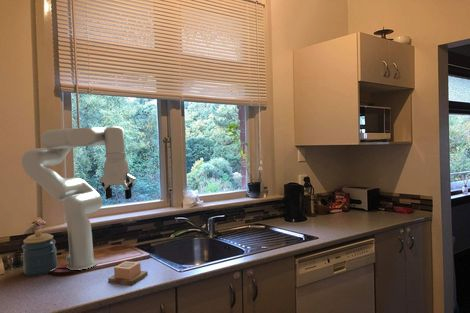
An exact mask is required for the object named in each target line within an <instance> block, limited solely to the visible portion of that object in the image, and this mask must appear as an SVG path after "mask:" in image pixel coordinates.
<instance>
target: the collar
mask: <svg viewBox="0 0 470 313" xmlns="http://www.w3.org/2000/svg"><path fill="white" fill-rule="evenodd" d="M126 263H130V264H133V265H132V266H130V267H121V266H122V265H124V264H126ZM141 271H142V270H141V262H139V261H126V260H125V261H123V262H121V263H119V264H118V265H116V266H114V267H113V275H115V278H123V279H131V278H133V277H134V276H136V275H137V274H139V273H141Z"/></svg>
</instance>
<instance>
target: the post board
mask: <svg viewBox="0 0 470 313" xmlns="http://www.w3.org/2000/svg"><path fill="white" fill-rule="evenodd" d="M132 265H133V264H130V263H126V264H124V265H122V266H121V267H130V266H132ZM148 272H149V271H147V270H141V273H139V274H137V275H136V276H134V277H133V278H131V279H123V278H115V274H113V275H112V276H110V277H108V278H107V279H108V280H107V282H108V283H111V284H120V285H128V286H133V285H135V284H136V283H138V282H140V281H141V280H142V279H144V278H146V277H147V276H148Z"/></svg>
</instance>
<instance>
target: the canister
mask: <svg viewBox="0 0 470 313" xmlns="http://www.w3.org/2000/svg"><path fill="white" fill-rule="evenodd" d="M56 242H57V241H56V240H55V239H54V235H52V234H50V233H47V232H43V233H42V231H41V230H35V231H34V234H31V235H28V236H27V237H26V238H24V239H23V244H22V245H21V249H22V250H23V253H22V260H23V261H22V262H23V273H24V275H25V276H27V277H37V276H43V275H44V276H45V275H47V274H50V273H51V272H50V270H52V269H54V268H56V267H57V268H58V266H59V263H58V257H57V247H56V245H55V244H56ZM49 272H50V273H49Z"/></svg>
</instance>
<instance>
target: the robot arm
mask: <svg viewBox="0 0 470 313" xmlns="http://www.w3.org/2000/svg"><path fill="white" fill-rule="evenodd" d="M124 133H125V132H124V128H123V127H122V126H108V127H106V126H105V127H102V126H101V127H99V126H98V127H97V126H94V127H93V126H92V127H91V126H90V127H77V128H76V127H71V128H69V127H68V128H61V129H60V128H59V129H49V130H46V131H44V132H43V133H42V134H41V136H40V143H41V145H42V146H43V147H41V148H39V147H38V148H32V149H29V150H26V151H25V152H24V153H23V154H22V156H21V167H22V170H23V171H24V173H25V174H26V175H27V176H28V177H29V178H30V179H32V181H33V182H36V184H38V185H39V186H40V187H41V188H43V190H45V191H46V192H47V193H48V194H49V195H50V196H51V197H52V198H53V199H54V200H56V201H58V202H63V204H62V210H63V213H64V216H65V221H66V228H67V236H68V237H67V240H68V250H69V251H68V252H69V254H67V255H66V257H64V261H65V262H68V263H67V265H66V269H67V268H68V269H71V270H79V269H86V270H89V269H92V268H94V267H95V265H96V266H97V265H98V263H99V261H98V259H96V258H94V247H93V246H94V244H93V232H92V224H91V221H90V219H89V218H88V216H87V215H88V214H91V213H94V212H95V213H96V212H97V211H99V210H100V209H101V208H102V206H103V197H102V196H101V194H100V193H99V192H98V191H97V190H96V189H95V188H94V187H92V186H91V184H89V183H88V182H87V181H86V180H85V179H82V178H80V177H77V176H75V177H68V178H67V177H65V178H64V177H62V176H61V175H60V174H59V173H57V171H55V170H54V169H51V168H48V167H54V166H57V165H59V164H61V163H62V162H63V161H64V159H65V158H66V157H67V156H68V153H69V152H70V151H71V150H72V149H75V148H81V147H83V148H84V147H95V146H98V147H99V146H105V148H104V149H105V154H104V158H105V161H104V163H103V164H104V165H103V176H101V177H100V178H99V181H100V184H101V186H102V187H103V190H105V199H107V200H109V199H112V198H113V189H112V186H123V187H124V188H125V189H124V196H125V200H129V199H132V189H133V187H134V186H135V183H136V180H137V179H136V177H135V176H132V175H131V174H130V173H131V172H130V168H129V163H128V160H127V159H126V147H125V134H124ZM93 266H94V267H93ZM91 267H92V268H91ZM88 268H89V269H88ZM68 269H67V270H68Z"/></svg>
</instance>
